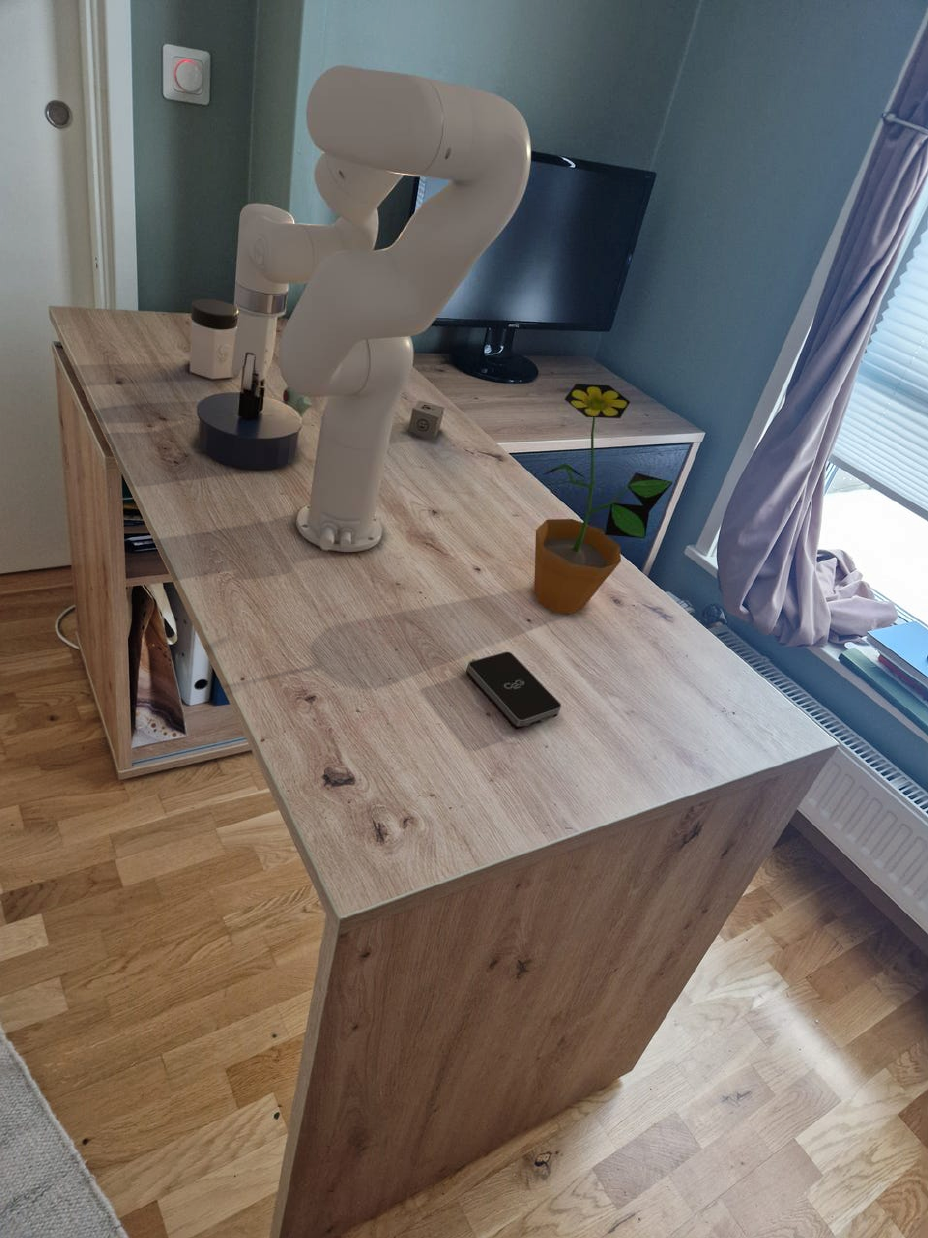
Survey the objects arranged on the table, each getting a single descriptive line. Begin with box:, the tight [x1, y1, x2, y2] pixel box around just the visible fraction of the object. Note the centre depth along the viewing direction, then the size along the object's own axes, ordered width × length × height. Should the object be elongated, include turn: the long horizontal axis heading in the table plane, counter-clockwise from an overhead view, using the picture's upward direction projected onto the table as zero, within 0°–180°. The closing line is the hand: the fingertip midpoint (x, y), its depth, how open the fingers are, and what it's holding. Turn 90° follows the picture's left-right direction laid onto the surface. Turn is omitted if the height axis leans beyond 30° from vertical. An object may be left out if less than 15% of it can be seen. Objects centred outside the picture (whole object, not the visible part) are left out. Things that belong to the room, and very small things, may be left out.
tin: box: [198, 419, 300, 472], centre depth 134 cm, size 15×15×5 cm
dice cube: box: [407, 399, 445, 440], centre depth 154 cm, size 5×5×5 cm
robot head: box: [282, 384, 313, 419], centre depth 145 cm, size 8×4×7 cm, turn 34°
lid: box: [196, 382, 303, 441], centre depth 131 cm, size 16×16×6 cm
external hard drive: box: [465, 651, 562, 731], centre depth 100 cm, size 7×11×2 cm, turn 35°
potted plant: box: [533, 383, 674, 616], centre depth 112 cm, size 18×19×30 cm
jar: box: [189, 298, 239, 380], centre depth 152 cm, size 9×8×12 cm
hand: (250, 412), depth 132 cm, fingers closed on lid, 2 cm apart
